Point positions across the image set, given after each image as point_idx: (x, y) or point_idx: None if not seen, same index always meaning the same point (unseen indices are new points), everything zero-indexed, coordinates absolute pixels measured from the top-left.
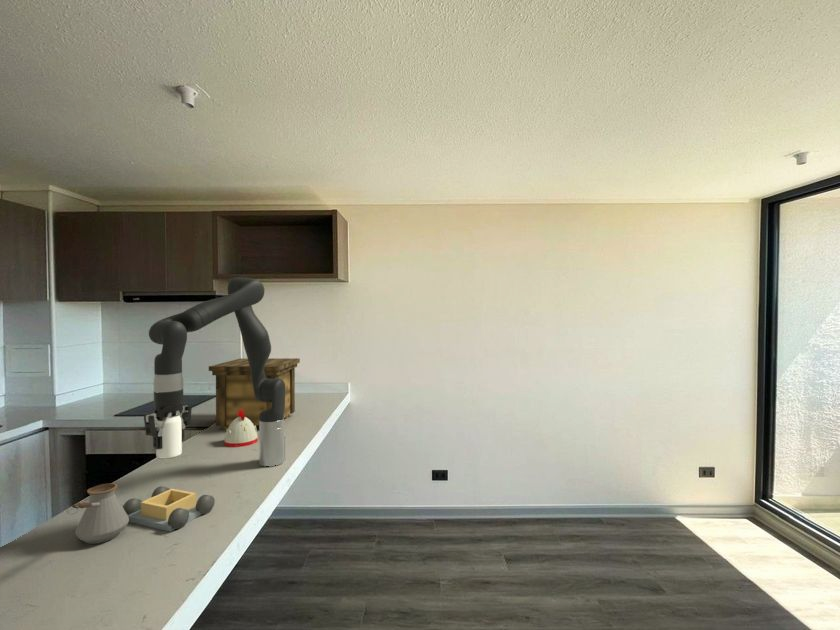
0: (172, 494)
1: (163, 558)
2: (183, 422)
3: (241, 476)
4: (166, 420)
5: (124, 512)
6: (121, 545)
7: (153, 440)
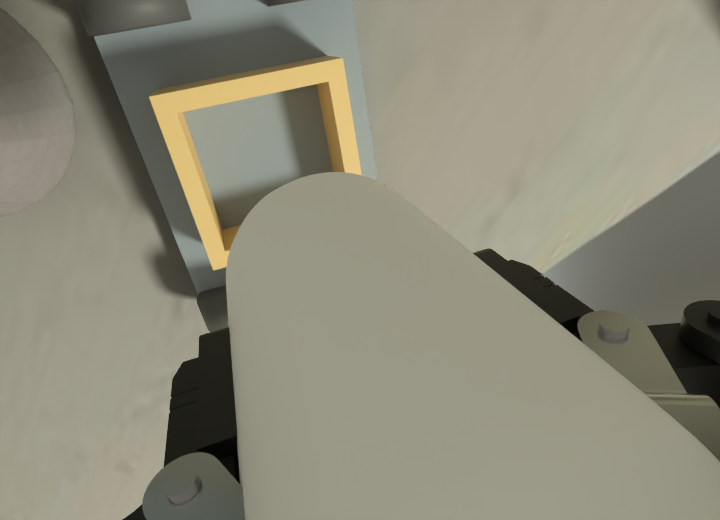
0: (324, 88)
1: (117, 428)
2: (700, 388)
3: (639, 47)
4: None
5: (32, 169)
6: (23, 258)
7: (169, 434)
